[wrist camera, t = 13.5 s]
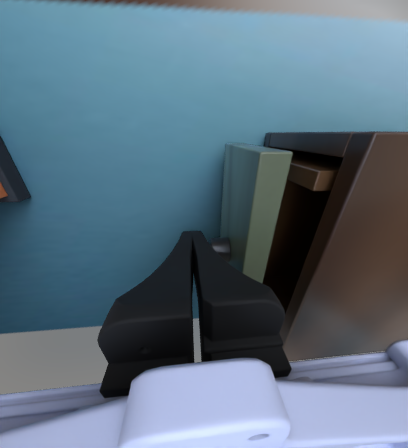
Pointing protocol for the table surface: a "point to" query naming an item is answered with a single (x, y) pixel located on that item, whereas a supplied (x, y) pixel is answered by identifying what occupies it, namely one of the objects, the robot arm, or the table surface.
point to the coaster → (10, 178)
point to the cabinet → (352, 249)
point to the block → (2, 191)
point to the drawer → (272, 212)
